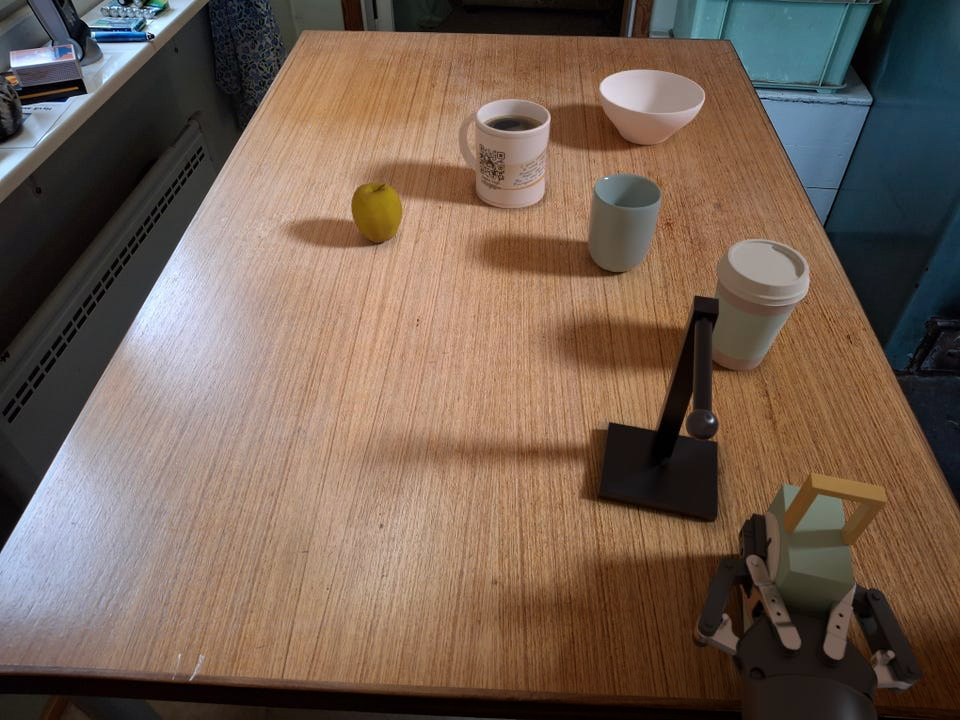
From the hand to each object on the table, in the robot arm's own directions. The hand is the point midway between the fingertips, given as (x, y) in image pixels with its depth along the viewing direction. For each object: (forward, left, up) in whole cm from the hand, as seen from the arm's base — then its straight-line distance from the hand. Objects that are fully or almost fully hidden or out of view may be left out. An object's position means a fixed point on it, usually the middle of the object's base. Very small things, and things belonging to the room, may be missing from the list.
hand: (789, 527), depth 50 cm
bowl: (+15, -73, -6) cm, 75 cm away
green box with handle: (0, +3, -6) cm, 7 cm away
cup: (+16, -38, -6) cm, 42 cm away
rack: (+9, -4, -6) cm, 12 cm away
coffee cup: (+2, -25, -6) cm, 26 cm away
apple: (+46, -36, -6) cm, 59 cm away
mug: (+33, -52, -6) cm, 62 cm away
